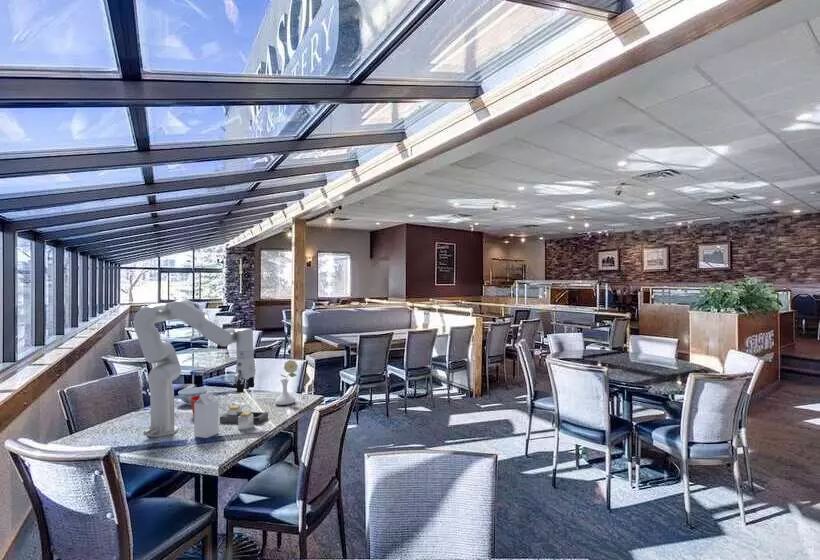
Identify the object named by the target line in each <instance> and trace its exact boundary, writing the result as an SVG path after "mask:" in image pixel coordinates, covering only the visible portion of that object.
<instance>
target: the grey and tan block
mask: <svg viewBox="0 0 820 560" xmlns="http://www.w3.org/2000/svg"><path fill="white" fill-rule="evenodd" d="M242 412H243V413H242V414H240V416H239V417H238V423H237V430H244V431H248V430H250V429H251V428H253V427H254V424H253V414H251V412H252V411H242Z"/></svg>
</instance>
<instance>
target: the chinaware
mask: <svg viewBox="0 0 820 560" xmlns="http://www.w3.org/2000/svg"><path fill="white" fill-rule="evenodd" d="M207 391H208V388H207V387H203V386H199V387H197V386H195V387H187V388H183V389H181V390H179V391H178V392H177V394H178V396H179V399H180V400H181V401H182V402H184V403H186V404H185V405H186V406H191V402H190V398H192V397H194V396H198V395H203V394H206V393H208V392H207Z"/></svg>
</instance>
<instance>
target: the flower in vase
mask: <svg viewBox="0 0 820 560" xmlns="http://www.w3.org/2000/svg"><path fill="white" fill-rule="evenodd" d="M283 369H284V371H285V372H286V373H288V374H287V376H286V375H285V374H284V375H282V374H280V376H281V377H284V378H282V379H280V382H281V384H282V393H281V394H279V396H278V397H276V398H275V400H274V403H275V404H276V405H280V406H285V405H290V404H293V403H295V402H296V398H295V397H294V396H293V395H292V394H290V393H289V392H288V383H289V381H290V379H289V378H288V377H290V378H295V377H297V374H296V373H295V372H296V371H298V369H299V368H298V364H297V362H296V361H295V360H293V359H292V360H291V359H289V360H287V361H286V362H284V365H283Z"/></svg>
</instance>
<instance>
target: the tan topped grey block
mask: <svg viewBox="0 0 820 560" xmlns="http://www.w3.org/2000/svg"><path fill="white" fill-rule="evenodd" d="M242 412H243V408H242V406H240V405H232V406H229V408H228V409H226V413H227V416H239V415H240V414H242Z"/></svg>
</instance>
